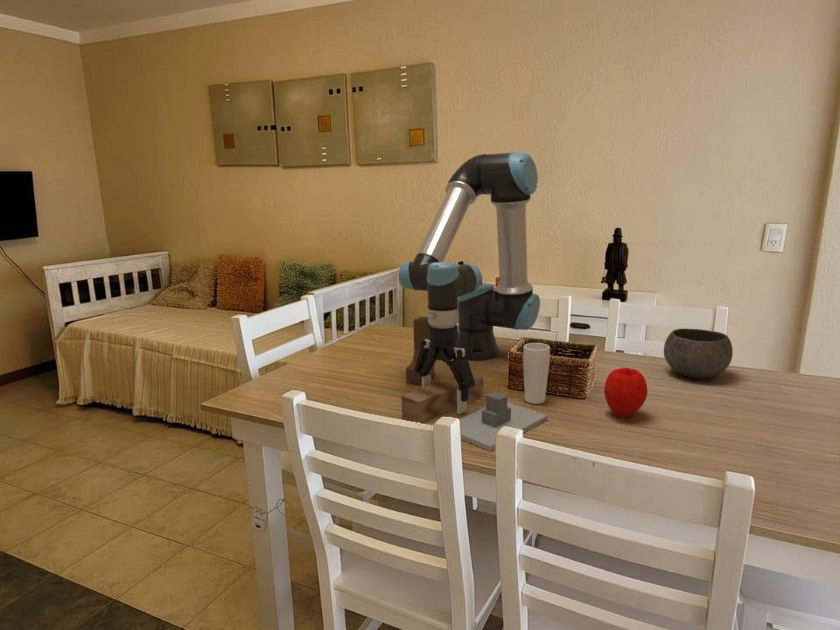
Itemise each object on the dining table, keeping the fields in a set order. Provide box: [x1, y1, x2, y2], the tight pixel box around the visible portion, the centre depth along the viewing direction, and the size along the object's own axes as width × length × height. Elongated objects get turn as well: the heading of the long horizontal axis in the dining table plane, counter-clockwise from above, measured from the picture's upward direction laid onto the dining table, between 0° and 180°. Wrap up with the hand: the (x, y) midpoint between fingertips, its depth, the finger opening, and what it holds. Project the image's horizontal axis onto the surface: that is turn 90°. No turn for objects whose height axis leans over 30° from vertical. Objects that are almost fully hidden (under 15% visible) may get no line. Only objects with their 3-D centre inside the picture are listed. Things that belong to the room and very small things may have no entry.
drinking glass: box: [522, 342, 551, 405], centre depth 142 cm, size 7×7×15 cm
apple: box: [603, 367, 648, 418], centre depth 132 cm, size 10×10×12 cm
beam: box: [401, 373, 484, 424], centre depth 140 cm, size 24×6×6 cm, turn 134°
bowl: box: [663, 328, 734, 380], centre depth 158 cm, size 18×18×13 cm
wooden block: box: [405, 316, 436, 385], centre depth 159 cm, size 9×4×18 cm, turn 146°
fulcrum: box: [459, 391, 549, 452], centre depth 128 cm, size 22×14×8 cm, turn 134°
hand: (443, 405), depth 141 cm, fingers open, 12 cm apart
